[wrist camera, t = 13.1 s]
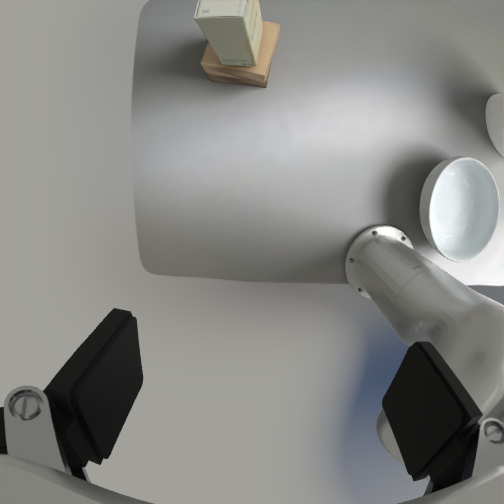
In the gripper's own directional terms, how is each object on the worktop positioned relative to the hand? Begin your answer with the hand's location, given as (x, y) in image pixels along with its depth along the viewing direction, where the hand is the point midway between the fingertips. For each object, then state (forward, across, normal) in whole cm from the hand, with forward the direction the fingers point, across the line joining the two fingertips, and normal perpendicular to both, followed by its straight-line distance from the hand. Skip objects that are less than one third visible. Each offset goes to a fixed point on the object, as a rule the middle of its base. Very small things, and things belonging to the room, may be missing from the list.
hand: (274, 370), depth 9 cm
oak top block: (+31, +6, -22) cm, 38 cm away
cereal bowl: (+35, -31, -6) cm, 47 cm away
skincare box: (+27, +6, -21) cm, 34 cm away
